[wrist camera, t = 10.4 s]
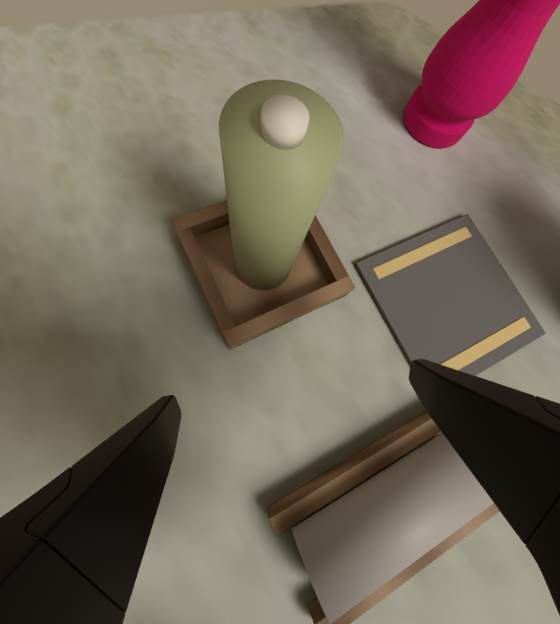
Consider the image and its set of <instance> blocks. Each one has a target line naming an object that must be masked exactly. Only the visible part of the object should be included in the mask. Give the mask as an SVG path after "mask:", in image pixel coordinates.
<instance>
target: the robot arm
mask: <svg viewBox="0 0 560 624" xmlns="http://www.w3.org/2000/svg"><path fill="white" fill-rule="evenodd" d="M409 381H410V383H411V385H412V387H413V389H414V390H415V392H416V394H417V396H418V397H419V399H420V401H421V402H422V404H423V406H424V408H425V409H426V411H427V413H428V414H429V416H430V417H431V418H432V420H433V421H434V423H435V424H436V425H437V427H438V428H439V429H440V431H441V432H442V433H443V435H444V436H445V437H446V439H447V440H448V441H449V443H450V444H451V446H452V447H453V448H454V450H455V451H456V452H457V454H458V455H459V456H460V458H461V459H462V460H463V462H464V463H465V464H466V466H467V467H468V469H469V470H470V471H471V473H472V474H473V475H474V477H475V478H476V479H477V481H478V482H479V483H480V485H481V486H482V487H483V489H484V490H485V492H486V493H487V494H488V496H489V497H490V498H491V500H492V501H493V502H494V504H495V505H496V506H497V508H498V509H499V510H500V512H501V513H502V515H503V516H504V517H505V519H506V520H507V521H508V523H509V524H510V525H511V527H512V528H513V529H514V531H515V532H516V533H517V535H518V536H519V538H520V539H521V540H522V542H523V543H524V544H526V547H527V548H528V550H529V551H530V553H531V554H532V556H533V557H534V559H535V561H536V562H537V564H538V566H539V568H540V570H541V572H542V574H543V577H544V579H545V581H546V584H547V586H548V589H549V591H550V593H551V596H552V598H553V601H554V603H555V606H556V608H557V610H558V613H559V615H560V404H559V403H556V402H553V401H550V400H547V399H544V398H541V397H538V396H536V397H535V396H533V395H531V394H528V393H525V392H522V391H519V390H516V389H513V388H510V387H507V386H504V385H501V384H498V383H495V382H492V381H489V380H486V379H483V378H480V377H477V376H474V375H471V374H468V373H465V372H462V371H459V370H456V369H453V368H450V367H447V366H444V365H441V364H438V363H435V362H432V361H429V360H426V359H416V360H413V361H412V362H411V367H410V373H409ZM180 421H181V410H180V407H179V405H178V402H177V400H176V397H175V396H174V395H168V396H163V397H161V398H160V399H159V400H157V401H156V402H155V403H154V404H152V405H151V406H150V407H148V408H147V409H146V410H144V411H143V412H142V413H140V414H139V415H138V416H137V417H135V418H134V419H133V420H131V421H130V422H129V423H127V424H126V425H125V426H124V427H122V428H121V429H120V430H118V431H117V432H116V433H114V434H113V435H112V436H110V437H109V438H108V439H107V440H105V441H104V442H103V443H101V444H100V445H99V446H97V447H96V448H95V449H93V450H92V451H91V452H90V453H88V454H87V455H86V456H84V457H83V458H82V459H80V460H79V461H78V462H76V463H75V464H74V465H73V466H72V468H68V469H67V470H65V471H64V472H63V473H62V474H60V475H59V476H58V477H56V478H55V479H54V480H52V481H51V482H50V483H48V484H47V485H46V486H44V487H43V488H42V489H40V490H39V491H37V492H36V493H35V494H33V495H32V496H30V497H29V498H28V499H26V500H25V501H23V502H22V503H21V504H19V505H18V506H16V507H15V508H13V509H12V510H11V511H9V512H8V513H6V514H5V515H3V516H2V517H1V518H0V624H123V620H124V617H125V612H126V610H127V607H128V604H129V600H130V597H131V594H132V591H133V587H134V584H135V581H136V578H137V574H138V571H139V568H140V565H141V561H142V558H143V555H144V551H145V548H146V545H147V542H148V538H149V535H150V532H151V529H152V525H153V522H154V519H155V516H156V512H157V509H158V506H159V503H160V499H161V496H162V493H163V489H164V486H165V483H166V480H167V476H168V473H169V470H170V467H171V463H172V460H173V457H174V453H175V448H176V443H177V437H178V432H179V426H180Z"/></svg>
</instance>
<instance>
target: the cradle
mask: <svg viewBox="0 0 560 624" xmlns="http://www.w3.org/2000/svg"><path fill="white" fill-rule="evenodd" d="M439 432H441V431H440V429H439V428H438V427H437V425H436V424H435V423H434V421H433V420H432V418H431V417H430V416H429V414H428V413H427V411H426V412H424V413H422V414H421V415H419V416H417V417H416V418H414V419H412V420H411V421H409V422H407V423H406V424H404V425H402V426H401V427H399V428H398V429H396V430H394V431H393V432H391V433H389V434H388V435H386V436H384V437H383V438H381V439H379V440H378V441H376V442H375V443H373V444H371V445H370V446H368V447H366V448H365V449H363V450H361V451H360V452H358V453H356V454H355V455H353V456H352V457H350V458H348V459H347V460H345V461H343V462H342V463H340V464H338V465H337V466H335V467H333V468H332V469H330V470H329V471H327V472H325V473H324V474H322V475H320V476H319V477H317V478H315V479H314V480H312V481H310V482H309V483H307V484H306V485H304V486H302V487H301V488H299V489H297V490H296V491H294V492H292V493H291V494H289V495H287V496H286V497H284V498H283V499H281V500H279V501H278V502H276V503H274V504H273V505H271V506H269V507H268V508H267V510H268V517H269V521H270V523H271V526H272V528H273V530H274V533H275V535H276V536H277V535H279V534H281V533H282V532H284V531H285V530H287V529H288V528H290V527H292V526H293V525H295V524H296V523H298V522H299V521H301V520H303V519H304V518H306V517H307V516H309V515H310V514H312V513H314V512H315V511H317V510H318V509H320V508H321V507H323V506H325V505H326V504H328V503H329V502H331V501H332V500H334V499H336V498H337V497H339V496H340V495H342V494H343V493H345V492H347V491H348V490H350V489H351V488H353V487H354V486H356V485H358V484H359V483H361V482H362V481H364V480H365V479H367V478H369V477H370V476H372V475H373V474H375V473H376V472H378V471H380V470H381V469H383V468H384V467H386V466H387V465H389V464H391V463H392V462H394V461H395V460H397V459H398V458H400V457H402V456H403V455H405V454H406V453H408V452H409V451H411V450H413V449H414V448H416V447H417V446H419V445H420V444H422V443H424V442H425V441H427V440H428V439H430V438H431V437H433V436H435V435H436V434H438V433H439ZM499 511H500V510H499V509H498V508H497V506H496V505H495V504H494V503H493V504H492V505H491V506H489V507H488V508H487V509H485V510H484V511H483V512H481V513H480V514H478V515H477V516H476V517H474V518H473V519H472V520H470V521H469V522H468V523H466V524H465V525H464V526H462V527H461V528H460V529H458V530H457V531H455V532H454V533H453V534H451V535H450V536H449V537H447V538H446V539H445V540H443V541H442V542H441V543H439V544H438V545H437V546H435V547H434V548H432V549H431V550H430V551H428V552H427V553H426V554H424V555H423V556H422V557H420V558H419V559H418V560H416V561H415V562H414V563H412V564H411V565H409V566H408V567H407V568H405V569H404V570H403V571H401V572H400V573H399V574H397V575H396V576H395V577H393V578H392V579H391V580H389V581H388V582H386V583H385V584H384V585H382V586H381V587H380V588H378V589H377V590H376V591H374V592H373V593H372V594H370V595H369V596H368V597H366V598H365V599H363V600H362V601H361V602H359V603H358V604H357V605H355V606H354V607H353V608H351V609H350V610H349V611H347V612H346V613H345V614H343V615H342V616H340V617H339V618H338V619H336V620H335V621H334V622H332V623H331V624H350V623H352V622H353V621H354V620H355V619H357V618H358V617H359V616H361V615H362V614H363V613H365V612H366V611H367V610H369V609H370V608H371V607H373V606H374V605H375V604H377V603H378V602H379V601H381V600H382V599H383V598H385V597H386V596H387V595H389V594H390V593H391V592H393V591H394V590H395V589H397V588H398V587H399V586H401V585H402V584H403V583H405V582H406V581H407V580H409V579H410V578H411V577H413V576H414V575H415V574H417V573H418V572H419V571H421V570H422V569H423V568H425V567H426V566H427V565H428V564H430V563H431V562H432V561H434V560H435V559H436V558H438V557H439V556H440V555H442V554H443V553H444V552H446V551H447V550H448V549H450V548H451V547H452V546H454V545H455V544H456V543H458V542H459V541H460V540H462V539H463V538H464V537H466V536H467V535H468V534H470V533H471V532H472V531H474V530H475V529H476V528H478V527H479V526H480V525H482V524H483V523H484V522H486V521H487V520H488V519H490V518H491V517H492V516H494V515H495V514H496V513H498V512H499ZM309 607H310V611H311V615H312V619H313V622H314V624H330V623H329V621H328V619H327V617H326V615H325V613H324V611H323V609H322V607H321V605H320V602H319V600H318V598H317V599H315V600H314V601H312V602H311V603H310V604H309Z"/></svg>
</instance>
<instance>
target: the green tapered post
mask: <svg viewBox="0 0 560 624" xmlns="http://www.w3.org/2000/svg"><path fill="white" fill-rule="evenodd" d="M219 134H220V143H221V151H222V160H223V169H224V178H225V187H226V195H227V204H228V213H229V222H230V231H231V239H232V248H233V257H234V266H235V270H236V273H237V275H238V277H239V278H240V280H241V281H242V282H243V283H244V284H246V285H247V286H249V287H251V288H253V289H256V290H271V289H274V288H276V287H278V286H280V285H281V284H282V283H284V282H285V280H286V279H287V278H288V276H289V274H290V271H291V269H292V267H293V264H294V262H295V260H296V257H297V255H298V253H299V251H300V248H301V246H302V244H303V241H304V239H305V237H306V234H307V232H308V230H309V228H310V225H311V223H312V221H313V218H314V216H315V214H316V211H317V209H318V207H319V205H320V202H321V200H322V198H323V195H324V193H325V191H326V188H327V186H328V184H329V182H330V179H331V177H332V175H333V172H334V170H335V168H336V165H337V163H338V161H339V159H340V156H341V153H342V150H343V145H344V133H343V128H342V124H341V122H340V119H339V117H338V115H337V114H336V112H335V110H334V109H333V108H332V107H331V105H330V104H329V103H328V102H327V101H326V100H325V99H324V98H323V97H321V96H320V95H319V94H317V93H316V92H314V91H313V90H311V89H309V88H307V87H305V86H303V85H300V84H297V83H294V82H290V81H284V80H264V81H258V82H255V83H251V84H249V85H247V86H244V87H243V88H241V89H239V90H238V91H237V92H235V93H234V94H233V95H232V96H231V97H230V98H229V99H228V101H227V102H226V104H225V105H224V107H223V109H222V112H221V115H220V120H219Z"/></svg>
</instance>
